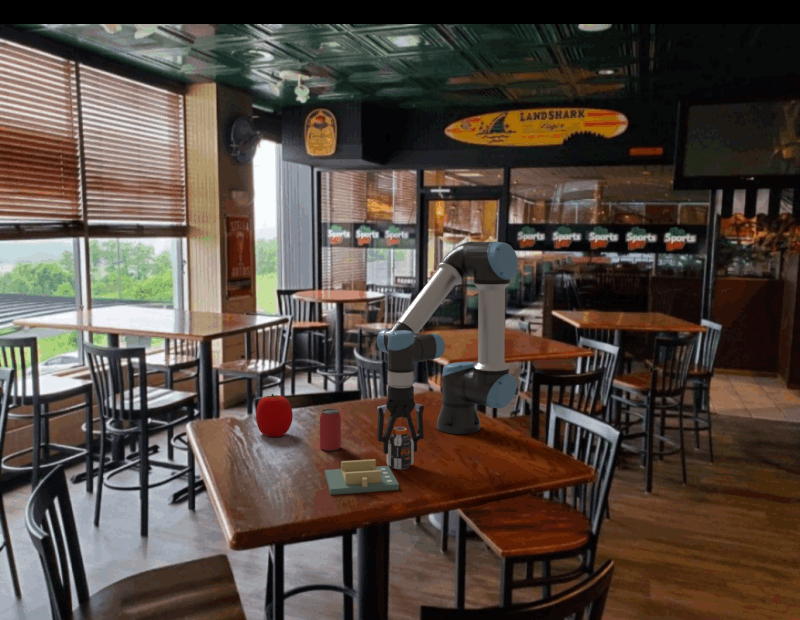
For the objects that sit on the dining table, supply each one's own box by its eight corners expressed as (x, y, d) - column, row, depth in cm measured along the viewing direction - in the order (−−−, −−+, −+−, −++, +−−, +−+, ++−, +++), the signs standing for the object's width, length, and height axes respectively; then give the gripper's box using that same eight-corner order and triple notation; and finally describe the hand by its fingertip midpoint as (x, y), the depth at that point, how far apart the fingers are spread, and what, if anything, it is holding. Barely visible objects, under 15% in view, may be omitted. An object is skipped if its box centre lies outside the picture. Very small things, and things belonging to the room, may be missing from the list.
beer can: (337, 452, 199) (337, 414, 198) (317, 450, 200) (316, 412, 199) (343, 445, 206) (343, 408, 204) (323, 444, 207) (323, 407, 205)
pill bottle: (403, 471, 183) (403, 432, 182) (385, 467, 186) (385, 429, 185) (414, 465, 188) (414, 427, 187) (396, 461, 191) (397, 424, 190)
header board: (388, 470, 184) (388, 455, 183) (398, 489, 170) (399, 473, 169) (324, 475, 180) (324, 459, 179) (330, 494, 166) (330, 478, 166)
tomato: (248, 437, 213) (247, 395, 211) (267, 428, 223) (267, 388, 222) (281, 442, 208) (280, 399, 207) (299, 432, 219) (298, 391, 217)
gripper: (429, 380, 190) (428, 457, 193) (365, 383, 186) (365, 461, 189) (436, 386, 183) (435, 465, 186) (370, 389, 179) (369, 470, 182)
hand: (400, 463), depth 187 cm, fingers closed on pill bottle, 6 cm apart
